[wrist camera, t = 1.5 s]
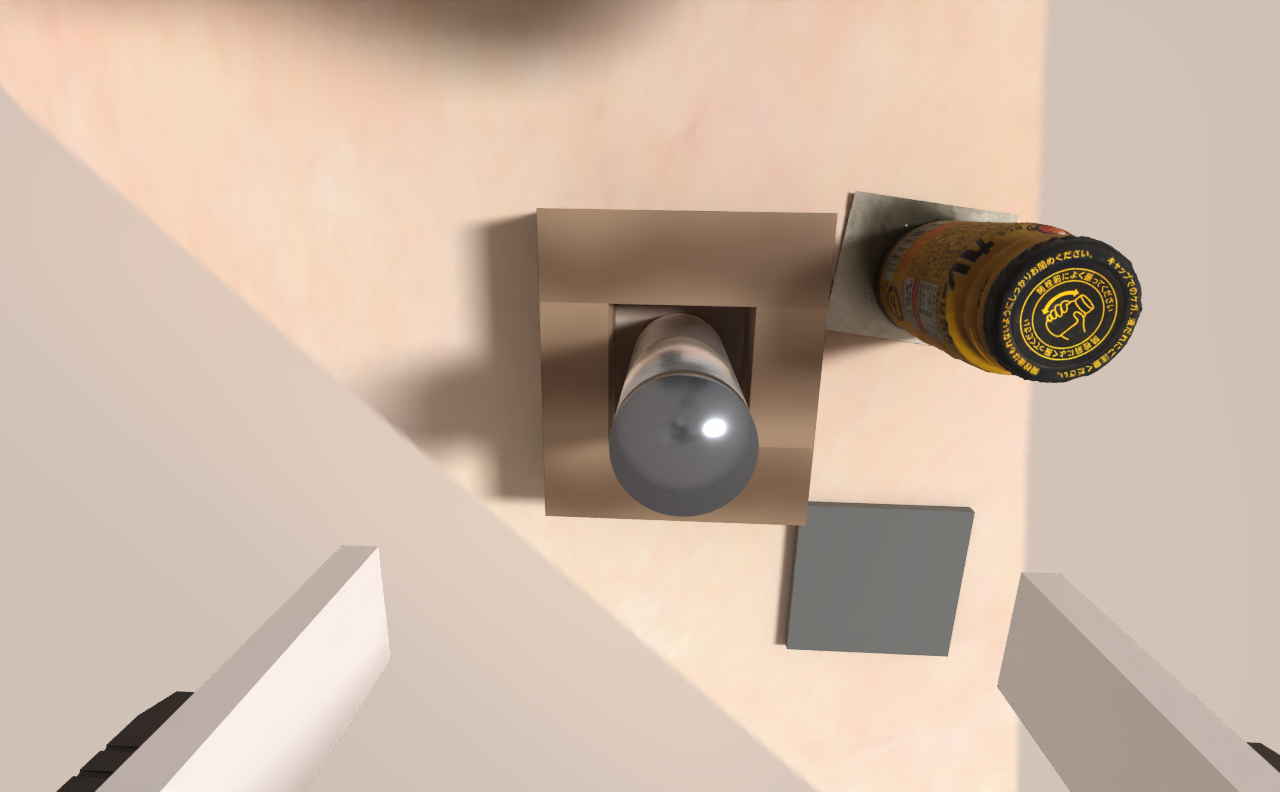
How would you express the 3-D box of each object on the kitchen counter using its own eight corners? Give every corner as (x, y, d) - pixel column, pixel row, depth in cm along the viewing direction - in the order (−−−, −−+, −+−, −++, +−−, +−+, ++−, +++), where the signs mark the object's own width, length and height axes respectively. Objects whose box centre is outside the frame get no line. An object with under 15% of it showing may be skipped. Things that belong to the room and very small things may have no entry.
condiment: (974, 351, 34) (1129, 421, 22) (822, 328, 34) (898, 386, 23) (1015, 215, 32) (1209, 214, 20) (853, 190, 32) (956, 176, 20)
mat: (799, 501, 37) (801, 505, 36) (969, 507, 36) (974, 512, 36) (785, 642, 40) (786, 649, 39) (943, 650, 39) (947, 656, 39)
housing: (552, 209, 33) (536, 208, 29) (817, 213, 32) (837, 213, 28) (558, 484, 37) (545, 515, 34) (791, 493, 37) (805, 525, 33)
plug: (633, 312, 34) (609, 374, 21) (727, 314, 34) (764, 378, 21) (632, 401, 36) (608, 514, 22) (722, 404, 35) (753, 519, 22)
